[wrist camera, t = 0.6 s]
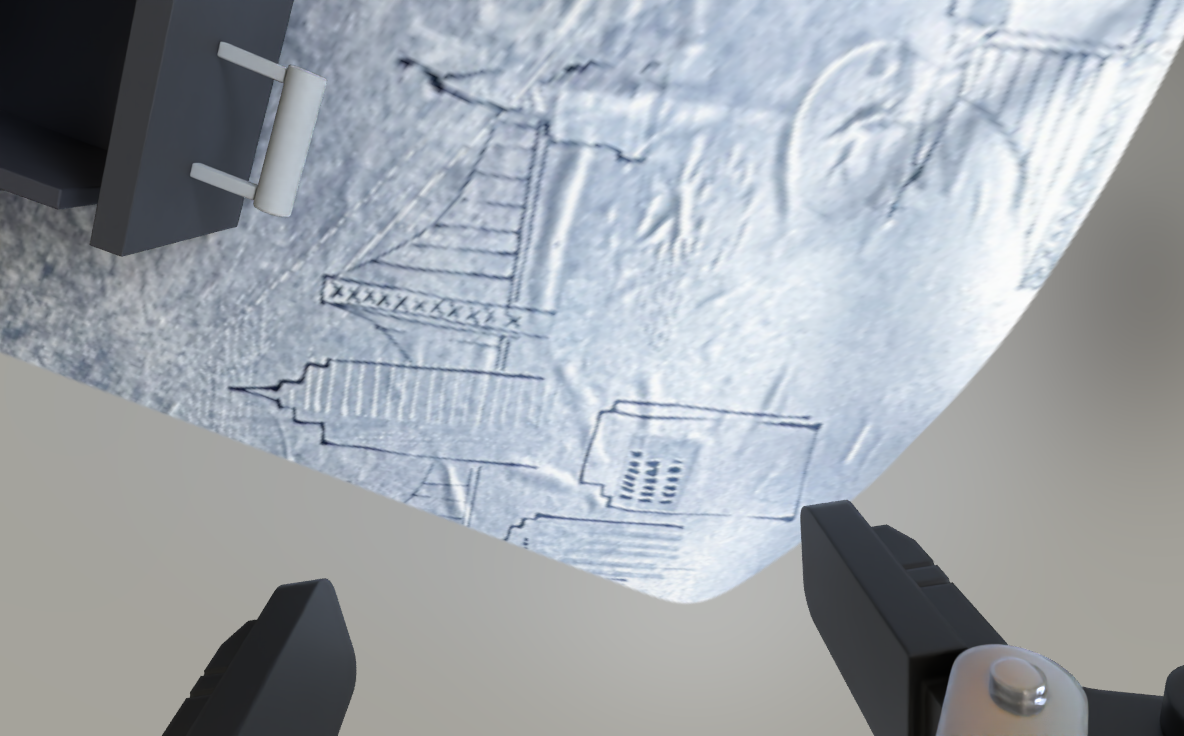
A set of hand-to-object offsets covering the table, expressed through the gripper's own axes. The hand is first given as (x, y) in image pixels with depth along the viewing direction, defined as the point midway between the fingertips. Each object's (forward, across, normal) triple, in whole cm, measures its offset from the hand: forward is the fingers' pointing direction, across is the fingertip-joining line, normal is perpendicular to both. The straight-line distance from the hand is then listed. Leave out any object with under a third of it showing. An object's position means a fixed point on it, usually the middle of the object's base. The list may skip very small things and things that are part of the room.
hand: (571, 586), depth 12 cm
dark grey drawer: (+27, +17, -12) cm, 34 cm away
